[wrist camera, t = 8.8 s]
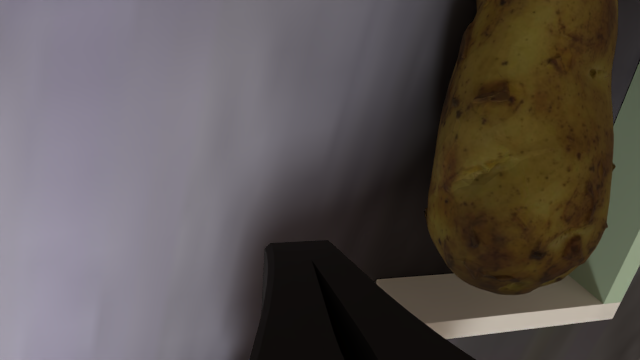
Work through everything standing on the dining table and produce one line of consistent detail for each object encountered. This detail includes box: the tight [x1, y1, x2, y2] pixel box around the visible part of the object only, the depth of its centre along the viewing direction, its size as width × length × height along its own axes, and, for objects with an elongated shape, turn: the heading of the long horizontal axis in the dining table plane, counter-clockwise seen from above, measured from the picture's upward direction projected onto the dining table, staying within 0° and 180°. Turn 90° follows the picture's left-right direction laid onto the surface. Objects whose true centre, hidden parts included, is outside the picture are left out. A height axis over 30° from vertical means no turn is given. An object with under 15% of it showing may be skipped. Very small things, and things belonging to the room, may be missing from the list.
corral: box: [376, 62, 640, 339], centre depth 19 cm, size 19×13×4 cm
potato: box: [424, 0, 618, 295], centre depth 16 cm, size 8×13×8 cm, turn 150°
